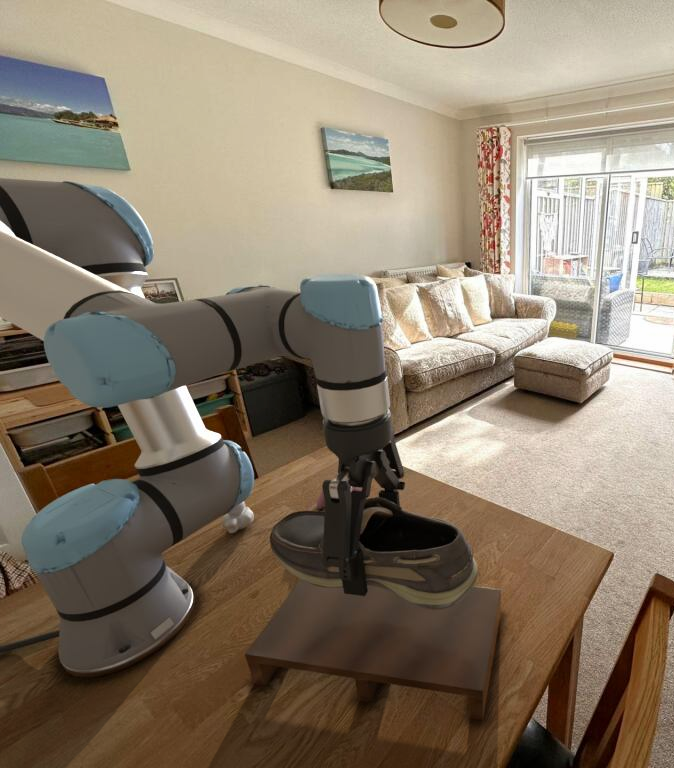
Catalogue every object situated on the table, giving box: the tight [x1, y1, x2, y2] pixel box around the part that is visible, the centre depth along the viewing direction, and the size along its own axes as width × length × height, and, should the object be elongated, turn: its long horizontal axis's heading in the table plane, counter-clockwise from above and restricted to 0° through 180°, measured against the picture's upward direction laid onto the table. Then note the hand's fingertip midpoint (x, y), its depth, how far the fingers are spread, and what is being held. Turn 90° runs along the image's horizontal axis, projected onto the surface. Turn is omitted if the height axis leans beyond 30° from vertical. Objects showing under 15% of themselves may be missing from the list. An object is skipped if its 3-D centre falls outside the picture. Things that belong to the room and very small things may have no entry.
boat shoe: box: [269, 496, 479, 610], centre depth 54 cm, size 11×29×11 cm, turn 79°
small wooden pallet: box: [244, 579, 502, 721], centre depth 59 cm, size 32×15×6 cm, turn 83°
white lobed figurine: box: [221, 501, 255, 534], centre depth 81 cm, size 5×7×8 cm
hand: (375, 557), depth 55 cm, fingers closed on boat shoe, 11 cm apart
